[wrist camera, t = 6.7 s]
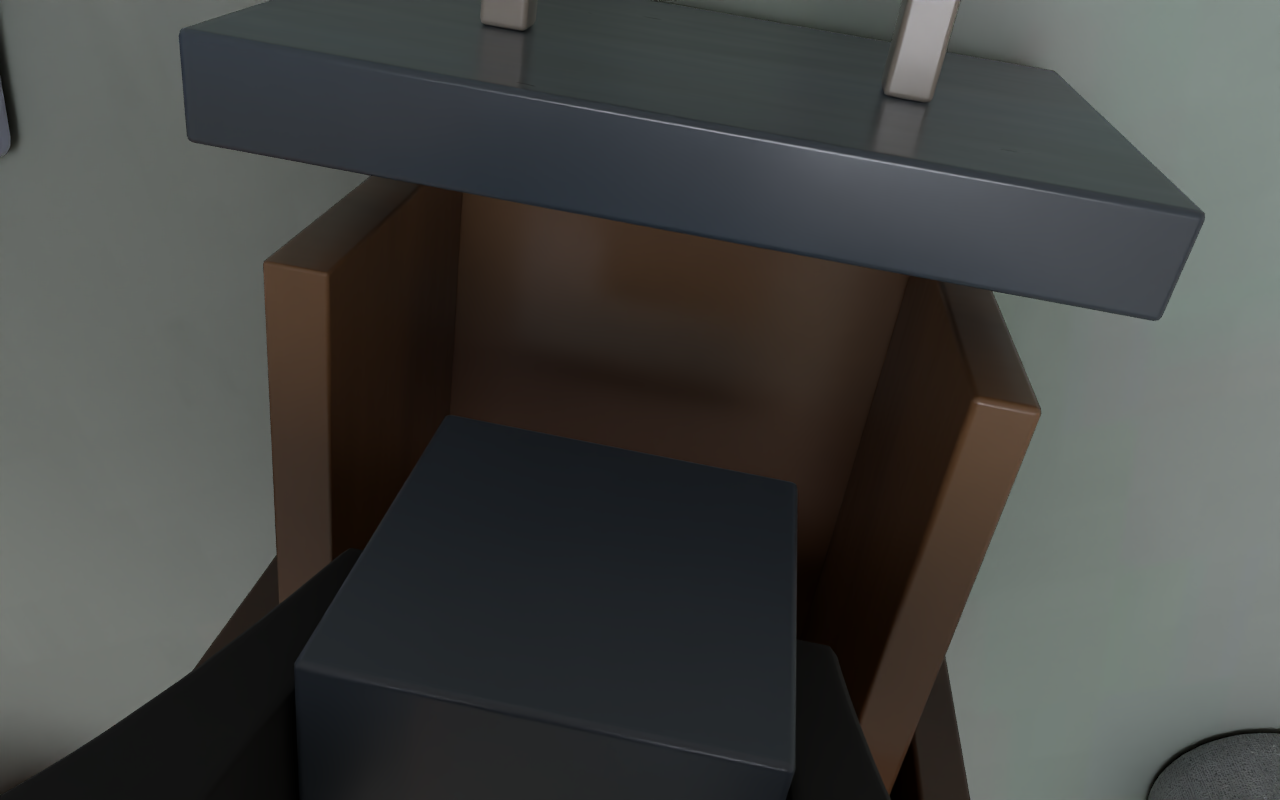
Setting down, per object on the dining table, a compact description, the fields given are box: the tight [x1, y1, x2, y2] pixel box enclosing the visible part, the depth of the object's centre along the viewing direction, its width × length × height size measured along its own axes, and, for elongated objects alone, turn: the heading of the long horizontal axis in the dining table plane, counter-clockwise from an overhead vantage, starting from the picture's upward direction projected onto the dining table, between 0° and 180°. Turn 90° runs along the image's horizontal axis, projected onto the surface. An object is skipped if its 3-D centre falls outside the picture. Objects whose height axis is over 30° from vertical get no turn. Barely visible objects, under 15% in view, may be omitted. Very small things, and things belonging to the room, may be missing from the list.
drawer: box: [179, 0, 1205, 795], centre depth 15 cm, size 17×10×7 cm, turn 172°
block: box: [294, 415, 798, 800], centre depth 11 cm, size 4×4×4 cm
